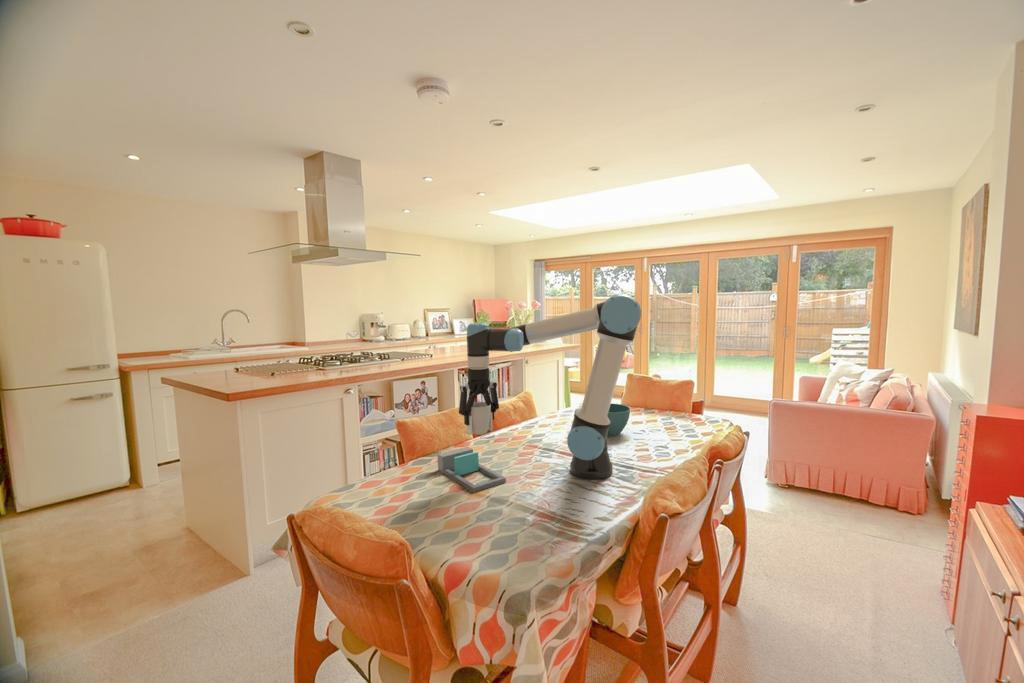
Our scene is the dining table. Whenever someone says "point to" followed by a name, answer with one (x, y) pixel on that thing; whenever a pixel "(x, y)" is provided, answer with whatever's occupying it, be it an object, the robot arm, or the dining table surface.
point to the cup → (480, 417)
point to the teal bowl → (617, 418)
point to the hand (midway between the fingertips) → (479, 431)
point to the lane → (448, 465)
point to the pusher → (466, 463)
